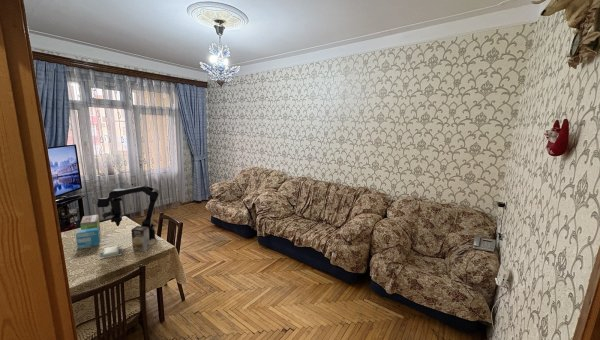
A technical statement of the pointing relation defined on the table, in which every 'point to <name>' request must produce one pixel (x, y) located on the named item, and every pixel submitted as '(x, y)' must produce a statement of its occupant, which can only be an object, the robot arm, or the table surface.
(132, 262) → the table surface
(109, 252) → the tile
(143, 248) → the coffee box
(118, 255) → the mat
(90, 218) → the tea box
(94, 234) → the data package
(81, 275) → the table surface
